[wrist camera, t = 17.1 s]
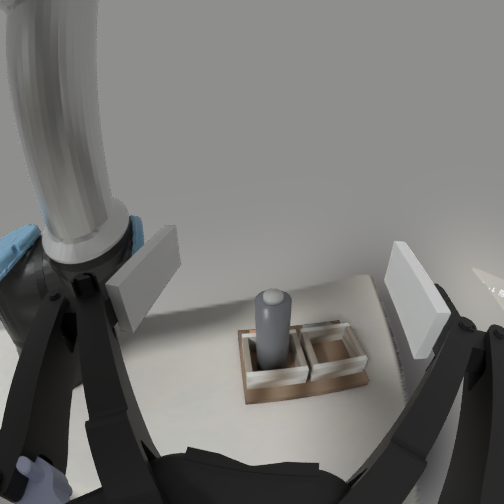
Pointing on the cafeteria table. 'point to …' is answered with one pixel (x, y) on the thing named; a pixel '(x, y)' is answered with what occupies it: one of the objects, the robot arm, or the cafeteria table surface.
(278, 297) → the plug
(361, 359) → the socket board
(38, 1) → the robot arm
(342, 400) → the cafeteria table surface
